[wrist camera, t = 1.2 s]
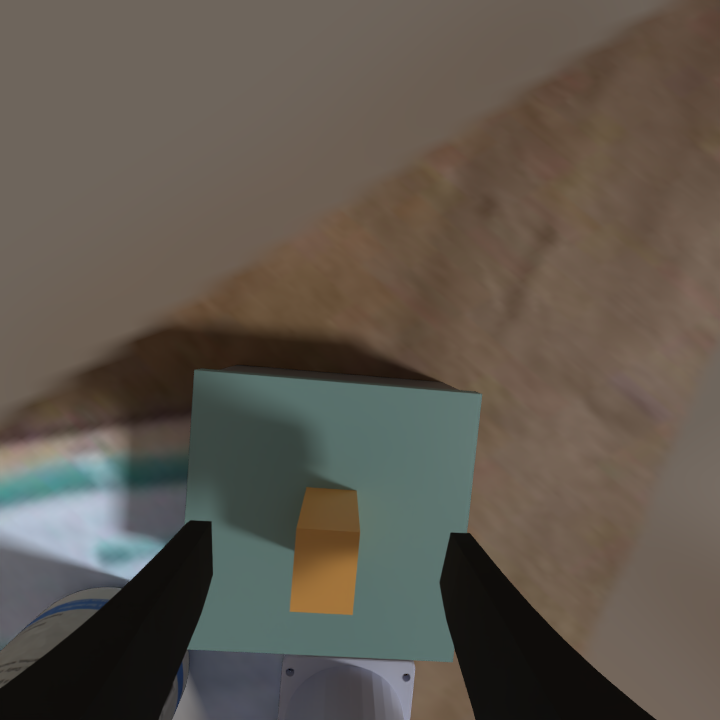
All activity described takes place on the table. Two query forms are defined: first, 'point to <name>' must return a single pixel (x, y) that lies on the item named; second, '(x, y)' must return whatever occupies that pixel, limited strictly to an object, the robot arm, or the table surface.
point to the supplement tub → (60, 625)
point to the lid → (328, 512)
